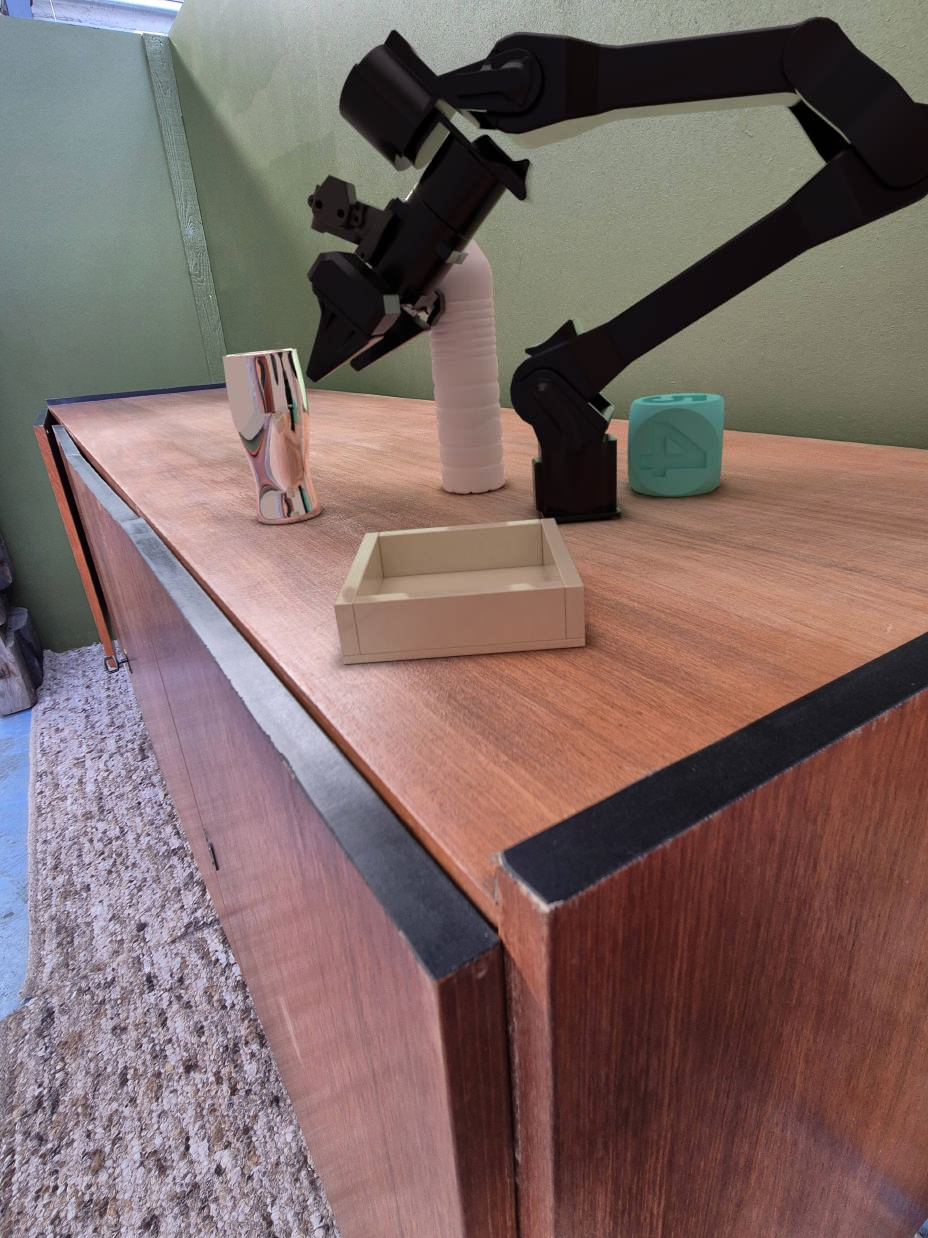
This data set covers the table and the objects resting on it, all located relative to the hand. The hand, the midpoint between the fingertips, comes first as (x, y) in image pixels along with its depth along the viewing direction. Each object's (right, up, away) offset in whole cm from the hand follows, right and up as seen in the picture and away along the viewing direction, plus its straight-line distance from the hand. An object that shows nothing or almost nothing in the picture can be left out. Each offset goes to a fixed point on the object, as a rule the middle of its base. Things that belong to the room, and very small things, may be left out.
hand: (333, 373), depth 63 cm
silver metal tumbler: (-6, -12, +7) cm, 15 cm away
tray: (+11, -21, -18) cm, 30 cm away
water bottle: (+11, -8, +12) cm, 18 cm away
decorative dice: (+31, -9, +5) cm, 33 cm away
